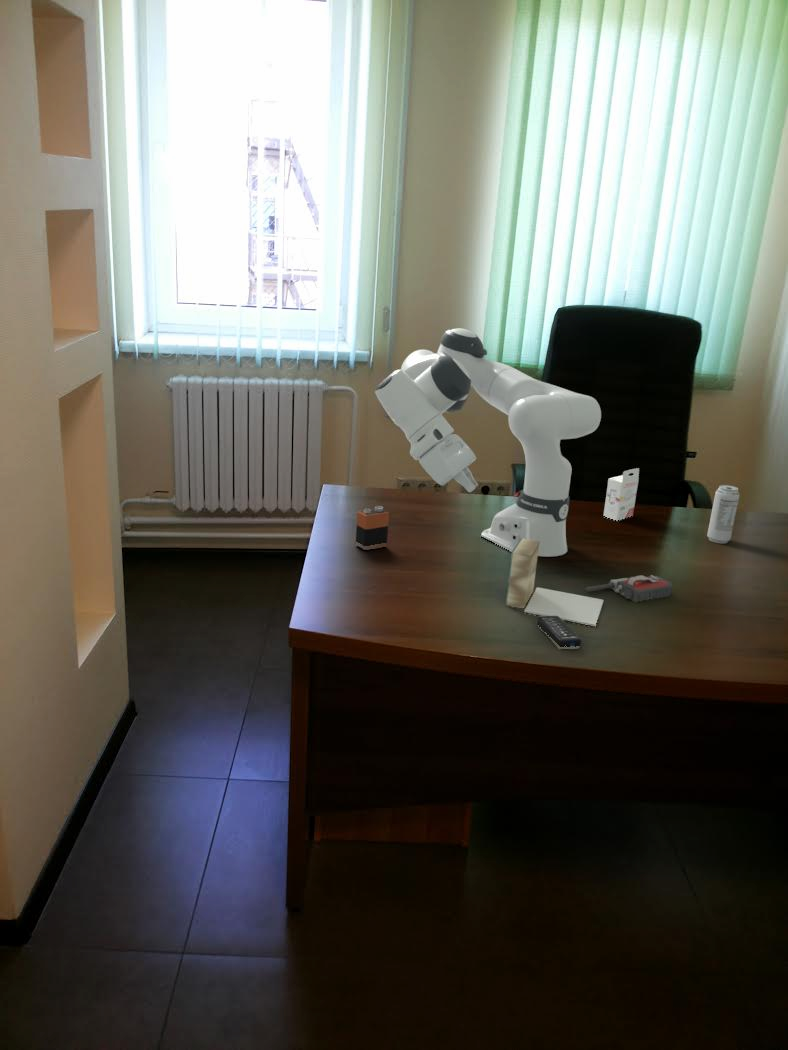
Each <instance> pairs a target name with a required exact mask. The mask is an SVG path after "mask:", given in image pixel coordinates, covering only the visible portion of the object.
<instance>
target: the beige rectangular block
mask: <svg viewBox="0 0 788 1050" xmlns="http://www.w3.org/2000/svg"><path fill="white" fill-rule="evenodd" d="M539 542H540V541H535V540H529V539H524V538H521V539H520V541H519V542H518V543H517V545H516V546H515V548H514V549H513V551H512V552H511V553H510V563H509V570H508V578H507V587H506V594H505V595H506V596H505V602H504V603H505V604H508V605H513V606H517V607H522V608H524V607H525V608H526V606H527V605H526V603H527V602H528V603H529V601H530V599H531V597H532V595H533V594H534V588H535V581H536V580H535V579H536V571H537V563H538V557H539V556H538V549H539ZM531 594H532V595H531ZM530 596H531V597H530ZM529 598H530V599H529ZM528 600H529V601H528ZM528 603H527V604H528ZM505 604H504V605H505ZM525 605H526V606H525ZM525 608H524V609H525Z"/></svg>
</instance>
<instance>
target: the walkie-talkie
mask: <svg viewBox="0 0 788 1050" xmlns="http://www.w3.org/2000/svg"><path fill="white" fill-rule="evenodd" d="M607 589H609V590H613V591H614V592H615V594H619V595H621V596H623V597H624V598H625V599H626V600H630V601H631V600H632V601H631V602H633V601H634V602H633V603H638V602H637V601H640V602H644V601H643V600H646V601H650V600H649V599H651V600H655V598H657V599H661V598H667V597H671V595H672V589H673V583H672V582H671V581H669V580H666V579H664V578H663V577H661V576H659V575H653V574H651V575H649V576H644V575H643V574H641V575H636V576H630V577H622V578H618V579H617V578H616V579H610V582H608V583H606V584H600V585H592V586H587V587H585V592H587V593H588V592H589V593H590V592H596V591H601V590H607ZM653 598H654V599H653Z"/></svg>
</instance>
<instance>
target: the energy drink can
mask: <svg viewBox="0 0 788 1050" xmlns="http://www.w3.org/2000/svg"><path fill="white" fill-rule="evenodd" d="M739 499H740V492H739V488H738V487H736V486H734V485H729V484H721V485H719V486H718V488H717V489H716V491H715V494H714V498H713V502H712V503H713V504H712V509H711V514H710V520H709V525H708V528H707V533H706V534H707V535H706V537H708V540H709V541H710V542H712V543H716V544H728V543H729V542H730V541H731V538H732V533H733V528H734V524H735V521H736V520H735V519H736V513H737V508H738V504H739Z"/></svg>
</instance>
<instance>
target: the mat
mask: <svg viewBox="0 0 788 1050" xmlns="http://www.w3.org/2000/svg"><path fill="white" fill-rule="evenodd" d="M603 604H604V599H601V598H595V597H590V596H586V595H585V596H584V595H581V594H574V593H569V592H564V591H559V590H552V589H549V588H543V587H538V586H537V587H536V588H535V591H533V593H532V595H531V597H530V599H529V601H528V603H527V605H526V606H525V608H524V612H528V613H533V614H538V615H543V616H559V617H560V618H561V619H563V620H568V621H572V622H577V623H581V624H585V625H591V626H595V627H594V628H596V626H597V624H596V623H598V621H599V617H600V613H601V610H602V608H603ZM524 612H523V613H524ZM597 620H598V621H597ZM585 625H584V626H585Z"/></svg>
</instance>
